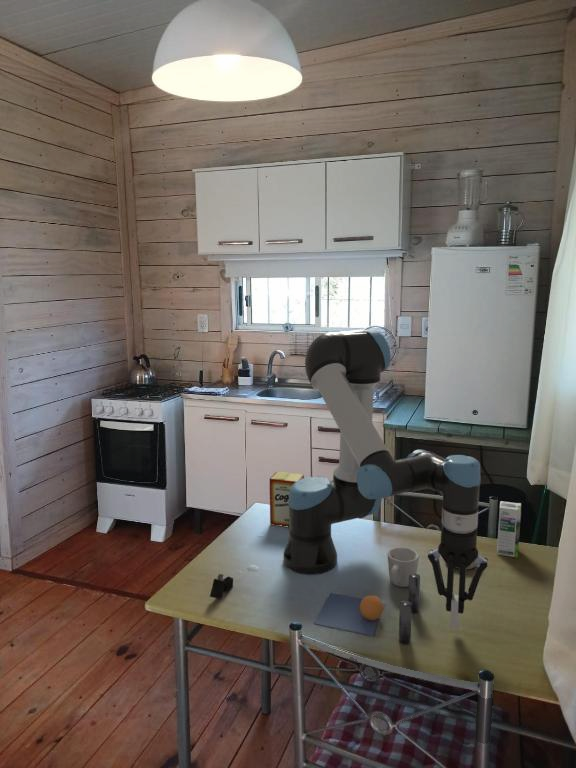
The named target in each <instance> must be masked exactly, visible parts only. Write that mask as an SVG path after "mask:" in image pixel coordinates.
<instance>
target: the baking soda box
mask: <svg viewBox="0 0 576 768" xmlns="http://www.w3.org/2000/svg"><path fill="white" fill-rule="evenodd" d="M303 478H305V474H303V473H302V474H301V473H291V472H285V471H275V472H274V473H273V475H271V477H270V478H269V523H270V524H274V525H273V526H275V525H282V526H281V527H283V526H288V527H287V528H289V503H288V501H289V492H290V488H291V487H292V485H293V484H294V483H295V482H297V481H298V480H301V479H303ZM270 524H269V525H270Z"/></svg>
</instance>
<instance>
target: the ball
mask: <svg viewBox="0 0 576 768" xmlns="http://www.w3.org/2000/svg"><path fill="white" fill-rule="evenodd" d="M362 598H363V600H362V601H361V603H360V612H361V614H362V615H363V617H364V618H366V619H368V620H376V619H378V618H379V619H380V618H381V617H382V615H383V613H384V608H383V604H382V602H383V601H382V600H381V599H380V598H379V597H378V596H376V595H366V596H365V597H362Z"/></svg>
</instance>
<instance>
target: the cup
mask: <svg viewBox="0 0 576 768" xmlns="http://www.w3.org/2000/svg"><path fill="white" fill-rule="evenodd" d="M419 559H420V556H419V554H418V552H417V551H416V550H414V549H411V548H408V547H403V546H402V547H400V546H399V547H395V548H394V547H393V548H391V549H390V550H389V551H388V552H387V563H388V564H387V565H388V575H389V576H388V577H389V580H390V582H391V583H392V584H393V585H394V586H397V587H399V588H409V575H410V574H412V573H415V574H418V573H417V572H418V565H419Z"/></svg>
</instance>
